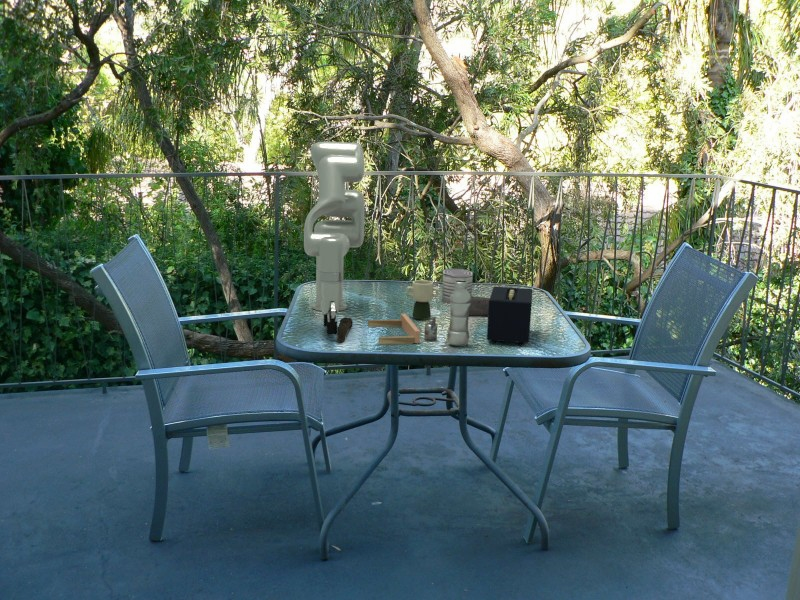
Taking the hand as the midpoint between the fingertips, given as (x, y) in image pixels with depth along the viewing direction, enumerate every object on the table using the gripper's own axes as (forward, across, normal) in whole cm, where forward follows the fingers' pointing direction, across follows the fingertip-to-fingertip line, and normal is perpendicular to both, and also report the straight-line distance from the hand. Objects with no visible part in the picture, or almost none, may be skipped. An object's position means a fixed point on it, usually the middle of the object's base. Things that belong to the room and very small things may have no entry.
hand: (330, 330), depth 262 cm
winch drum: (+2, +6, +31) cm, 32 cm away
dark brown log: (+2, 0, +5) cm, 5 cm away
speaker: (+2, +5, +57) cm, 57 cm away
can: (+2, -46, +52) cm, 69 cm away
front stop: (+2, 0, +26) cm, 26 cm away
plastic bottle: (+2, +13, +38) cm, 40 cm away
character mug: (+2, -20, +34) cm, 39 cm away
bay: (+2, 0, +19) cm, 19 cm away
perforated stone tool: (+2, -25, +55) cm, 61 cm away
